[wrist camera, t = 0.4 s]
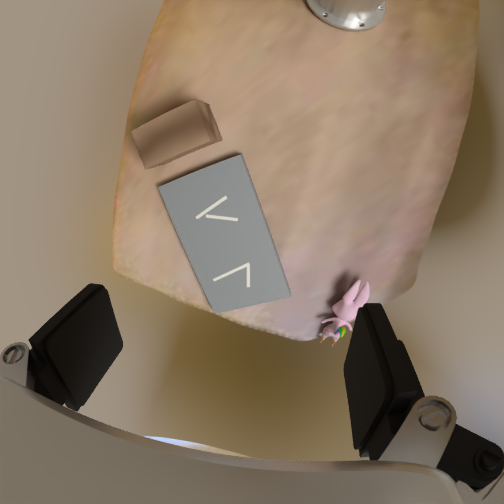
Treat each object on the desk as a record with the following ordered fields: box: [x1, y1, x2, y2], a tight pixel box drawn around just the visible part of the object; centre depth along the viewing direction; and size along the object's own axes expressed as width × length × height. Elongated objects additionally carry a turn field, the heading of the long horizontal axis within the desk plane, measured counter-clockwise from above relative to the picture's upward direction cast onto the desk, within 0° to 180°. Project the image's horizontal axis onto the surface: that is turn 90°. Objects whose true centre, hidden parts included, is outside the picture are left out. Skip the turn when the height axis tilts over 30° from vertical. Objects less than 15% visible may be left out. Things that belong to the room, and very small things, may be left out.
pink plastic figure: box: [319, 280, 369, 346], centre depth 46 cm, size 6×6×15 cm
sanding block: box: [131, 99, 222, 170], centre depth 37 cm, size 6×10×7 cm, turn 109°
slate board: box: [158, 154, 291, 313], centre depth 45 cm, size 24×14×2 cm, turn 20°
